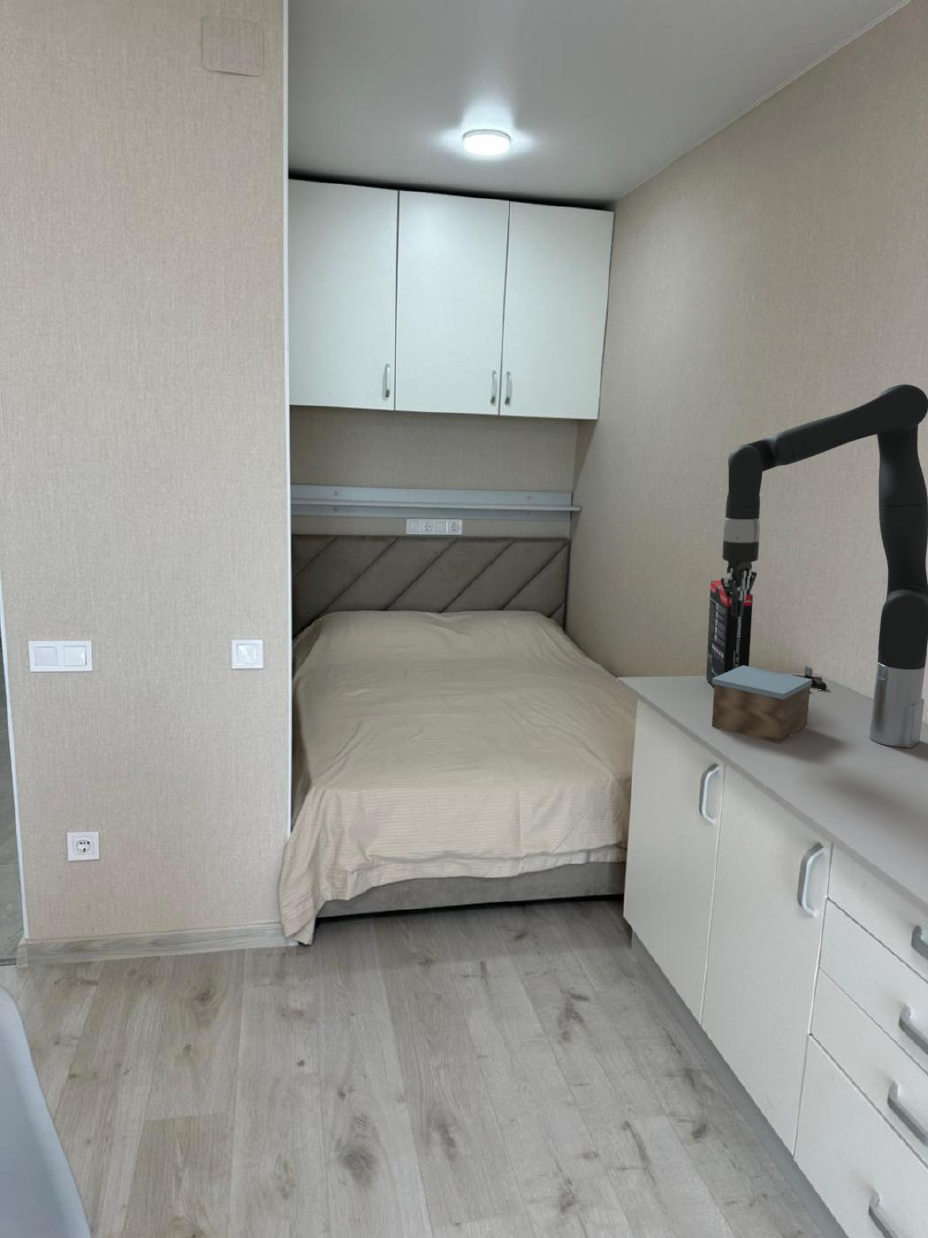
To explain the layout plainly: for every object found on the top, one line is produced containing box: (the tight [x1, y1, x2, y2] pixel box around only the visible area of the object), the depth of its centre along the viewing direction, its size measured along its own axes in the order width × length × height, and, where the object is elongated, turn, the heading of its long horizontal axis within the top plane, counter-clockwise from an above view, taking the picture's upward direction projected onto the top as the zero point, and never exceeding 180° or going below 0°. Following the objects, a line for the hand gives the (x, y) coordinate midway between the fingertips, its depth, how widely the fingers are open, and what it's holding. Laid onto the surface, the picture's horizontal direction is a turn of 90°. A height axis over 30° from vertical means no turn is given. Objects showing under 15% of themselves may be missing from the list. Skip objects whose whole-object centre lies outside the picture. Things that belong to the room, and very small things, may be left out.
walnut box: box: [711, 684, 811, 744], centre depth 202 cm, size 16×14×10 cm
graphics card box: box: [705, 580, 754, 689], centre depth 227 cm, size 17×7×27 cm, turn 0°
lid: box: [712, 665, 812, 699], centre depth 201 cm, size 17×15×1 cm
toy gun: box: [792, 665, 827, 691], centre depth 232 cm, size 10×12×5 cm
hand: (736, 616), depth 199 cm, fingers closed
